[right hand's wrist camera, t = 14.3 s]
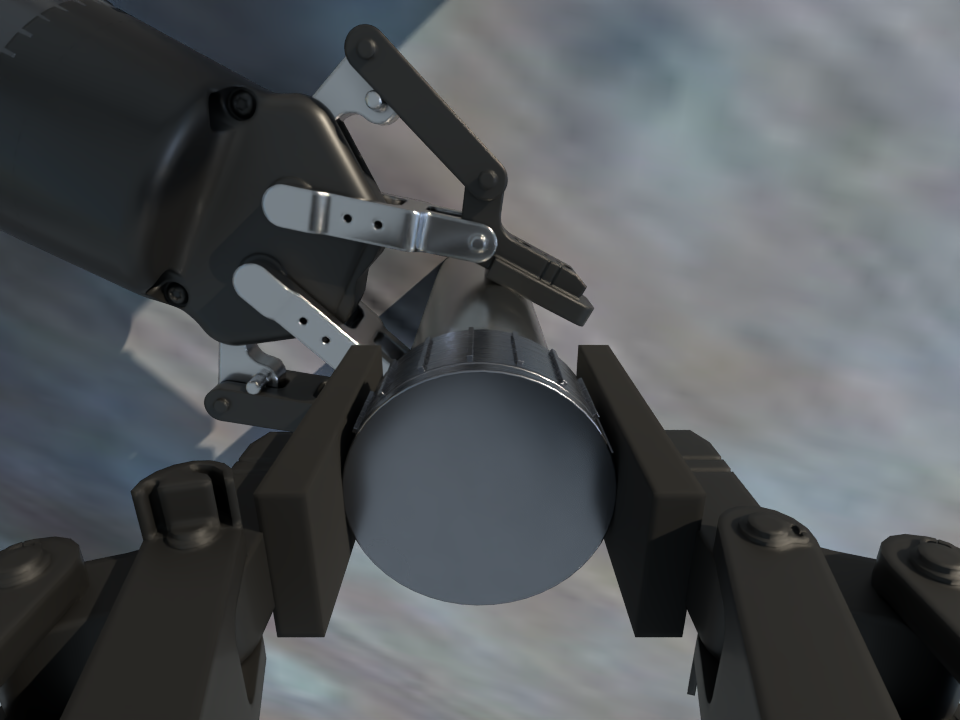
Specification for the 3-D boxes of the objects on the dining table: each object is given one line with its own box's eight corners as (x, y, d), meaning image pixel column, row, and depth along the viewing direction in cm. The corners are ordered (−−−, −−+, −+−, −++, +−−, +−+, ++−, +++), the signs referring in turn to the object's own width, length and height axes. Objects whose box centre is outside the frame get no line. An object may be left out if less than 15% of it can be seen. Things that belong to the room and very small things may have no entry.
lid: (613, 507, 13) (641, 580, 11) (401, 551, 13) (385, 629, 11) (574, 299, 11) (597, 336, 9) (330, 357, 12) (295, 405, 9)
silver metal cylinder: (427, 321, 26) (358, 545, 11) (444, 234, 25) (391, 360, 10) (512, 340, 26) (554, 581, 12) (534, 255, 25) (614, 406, 10)
